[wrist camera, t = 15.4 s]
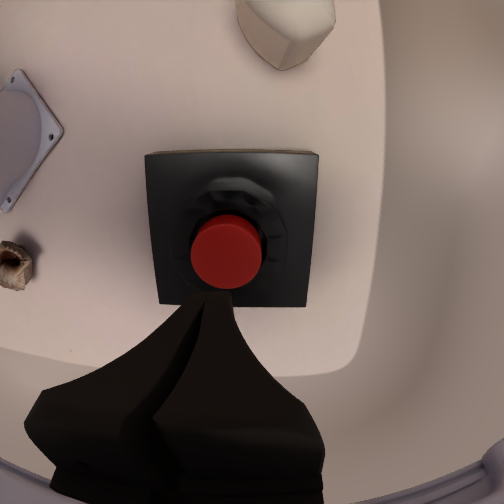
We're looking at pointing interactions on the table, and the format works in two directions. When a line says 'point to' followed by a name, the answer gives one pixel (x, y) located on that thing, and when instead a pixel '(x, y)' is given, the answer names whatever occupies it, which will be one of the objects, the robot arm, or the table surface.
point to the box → (240, 204)
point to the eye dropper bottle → (285, 28)
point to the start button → (226, 252)
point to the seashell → (14, 266)
